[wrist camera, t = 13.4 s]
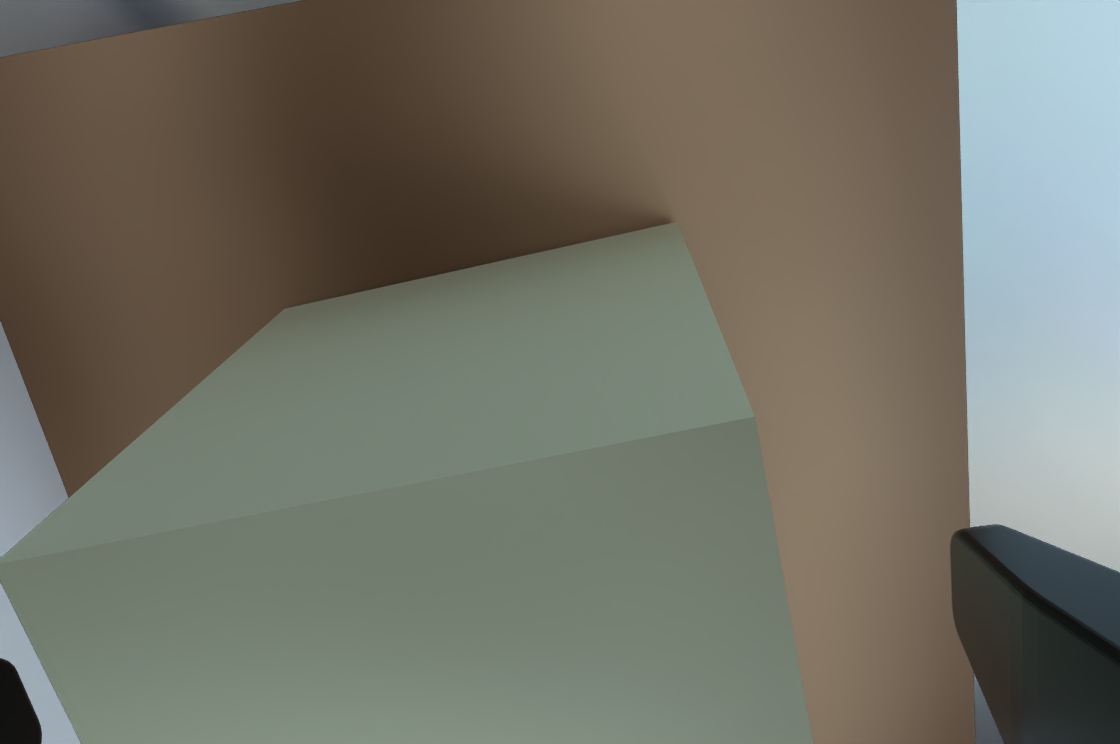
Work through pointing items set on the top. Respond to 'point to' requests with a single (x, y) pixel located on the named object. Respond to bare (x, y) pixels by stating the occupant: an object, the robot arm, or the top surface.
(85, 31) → the top surface
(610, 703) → the sage block
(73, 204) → the brown flat block
